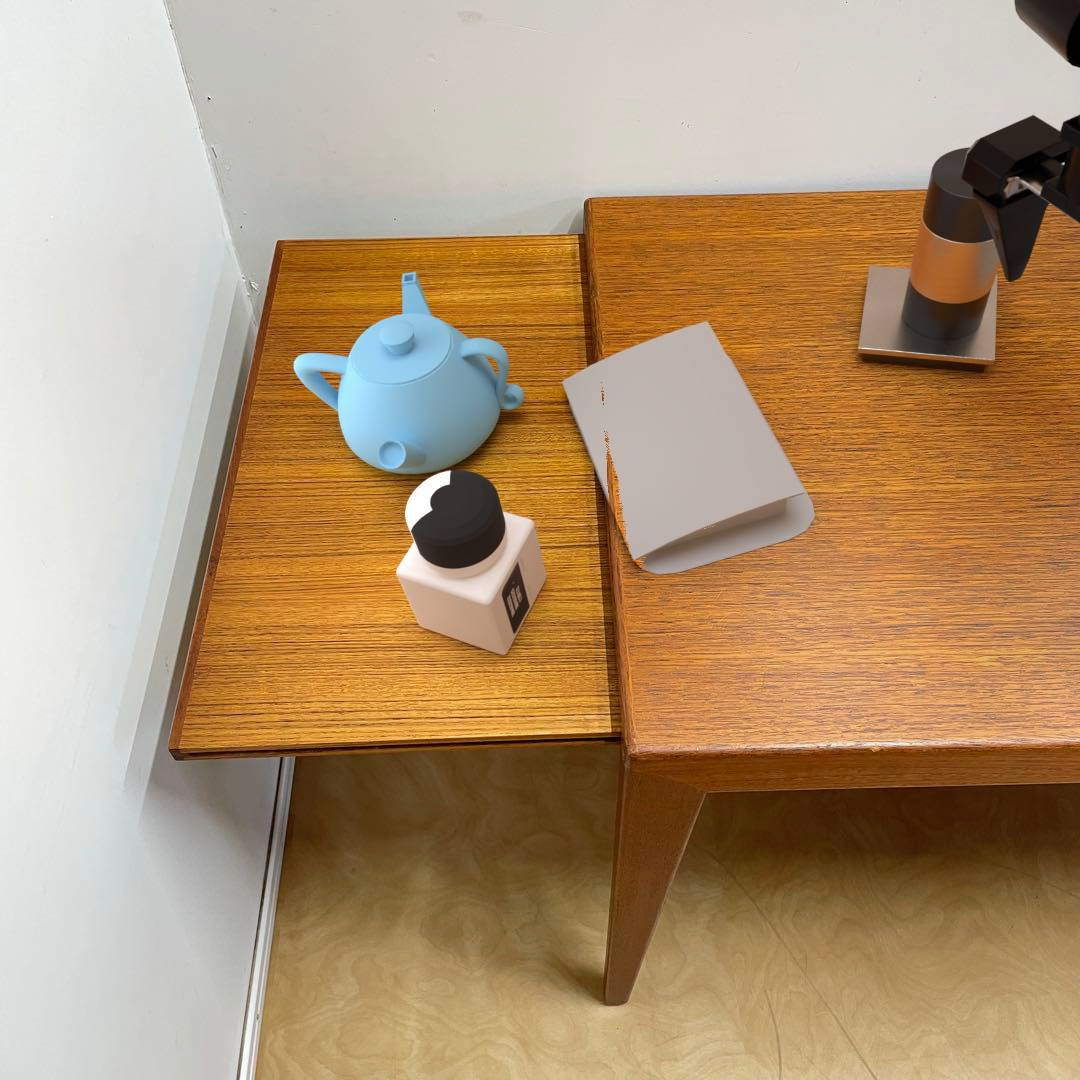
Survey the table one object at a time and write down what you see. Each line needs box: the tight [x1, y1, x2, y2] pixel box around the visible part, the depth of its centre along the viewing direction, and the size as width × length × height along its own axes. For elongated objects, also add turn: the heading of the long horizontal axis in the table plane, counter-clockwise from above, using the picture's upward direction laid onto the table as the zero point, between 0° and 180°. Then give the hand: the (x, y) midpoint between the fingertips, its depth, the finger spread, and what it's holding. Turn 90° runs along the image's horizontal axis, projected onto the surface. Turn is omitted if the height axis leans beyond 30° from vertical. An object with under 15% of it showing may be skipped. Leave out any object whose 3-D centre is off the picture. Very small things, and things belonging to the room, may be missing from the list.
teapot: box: [293, 271, 525, 475], centre depth 85 cm, size 15×17×11 cm
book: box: [561, 320, 816, 576], centre depth 82 cm, size 15×23×4 cm, turn 15°
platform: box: [856, 265, 999, 373], centre depth 88 cm, size 11×11×2 cm
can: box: [902, 146, 1001, 339], centre depth 81 cm, size 7×7×14 cm
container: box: [395, 469, 547, 656], centre depth 72 cm, size 8×8×13 cm
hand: (1060, 314), depth 70 cm, fingers open, 9 cm apart
